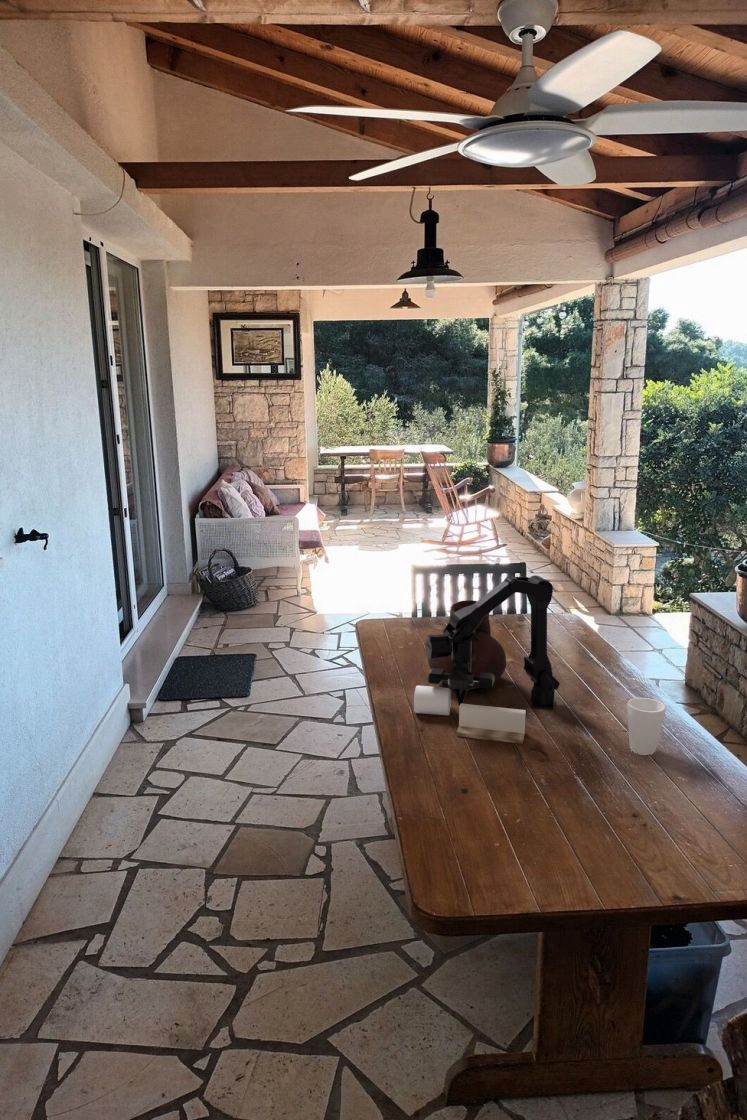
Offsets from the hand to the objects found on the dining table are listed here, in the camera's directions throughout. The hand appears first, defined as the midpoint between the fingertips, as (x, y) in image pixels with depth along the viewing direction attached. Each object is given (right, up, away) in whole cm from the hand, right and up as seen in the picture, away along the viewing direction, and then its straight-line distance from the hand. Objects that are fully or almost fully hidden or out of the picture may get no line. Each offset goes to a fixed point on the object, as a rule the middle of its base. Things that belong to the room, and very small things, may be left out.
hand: (460, 705), depth 229 cm
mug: (-8, -2, +3) cm, 9 cm away
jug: (+4, +3, +24) cm, 24 cm away
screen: (+7, -6, -13) cm, 16 cm away
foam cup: (+46, -8, -22) cm, 52 cm away
